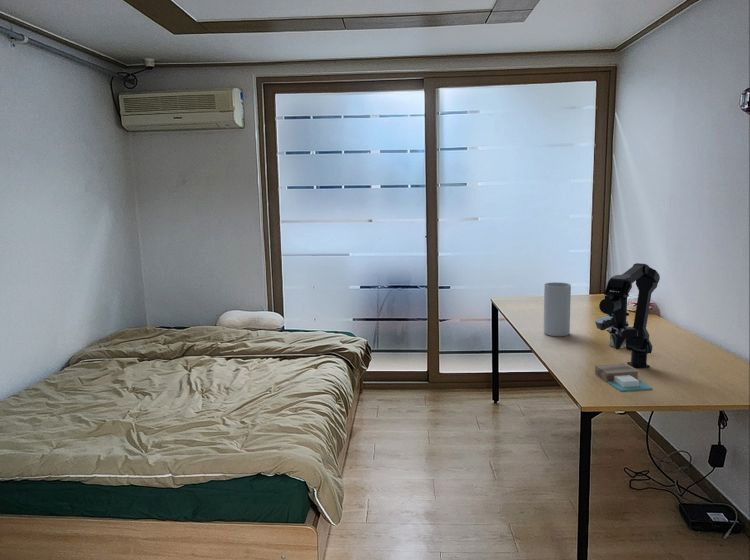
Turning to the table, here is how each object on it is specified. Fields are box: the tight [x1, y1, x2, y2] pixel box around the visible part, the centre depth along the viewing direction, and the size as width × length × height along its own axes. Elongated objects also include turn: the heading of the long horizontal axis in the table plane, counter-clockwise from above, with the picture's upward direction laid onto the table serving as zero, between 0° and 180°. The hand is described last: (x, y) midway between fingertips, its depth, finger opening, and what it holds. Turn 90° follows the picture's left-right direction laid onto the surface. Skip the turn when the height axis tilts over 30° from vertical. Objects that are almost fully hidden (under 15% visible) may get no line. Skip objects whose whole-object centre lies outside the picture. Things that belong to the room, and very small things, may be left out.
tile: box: [614, 375, 639, 387], centre depth 220 cm, size 7×6×2 cm
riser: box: [594, 363, 639, 383], centre depth 228 cm, size 10×12×4 cm
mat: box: [607, 379, 653, 392], centre depth 218 cm, size 10×12×1 cm
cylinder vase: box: [543, 281, 572, 338], centre depth 293 cm, size 12×12×25 cm
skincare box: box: [609, 320, 629, 349], centre depth 269 cm, size 6×4×12 cm
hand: (617, 349), depth 226 cm, fingers closed
